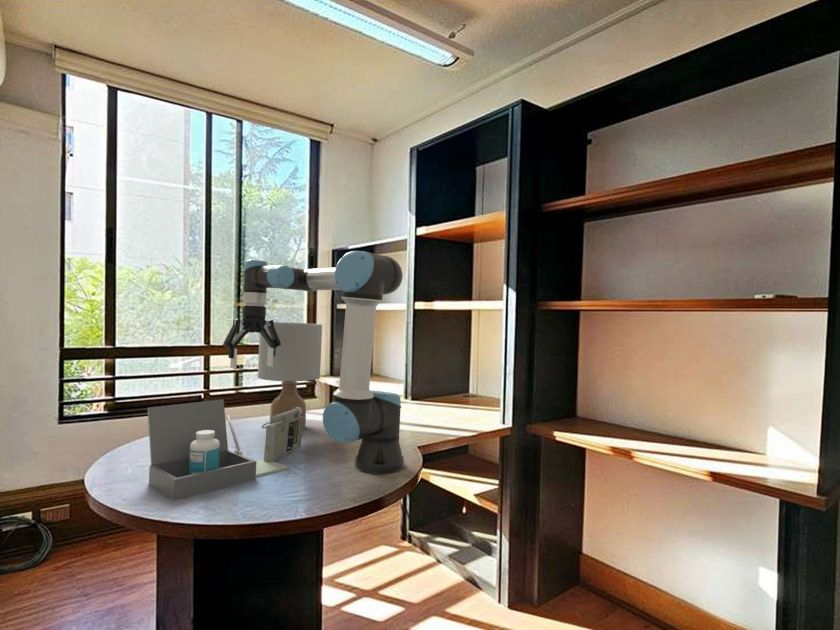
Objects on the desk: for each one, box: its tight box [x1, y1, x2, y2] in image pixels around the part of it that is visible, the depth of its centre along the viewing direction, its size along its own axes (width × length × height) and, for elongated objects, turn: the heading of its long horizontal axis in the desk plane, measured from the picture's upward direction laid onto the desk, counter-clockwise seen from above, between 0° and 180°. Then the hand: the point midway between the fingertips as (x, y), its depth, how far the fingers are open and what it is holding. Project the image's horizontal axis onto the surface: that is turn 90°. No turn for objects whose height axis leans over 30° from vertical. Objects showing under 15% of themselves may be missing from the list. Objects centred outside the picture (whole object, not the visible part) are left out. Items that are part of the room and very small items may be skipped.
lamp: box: [257, 321, 323, 430], centre depth 192 cm, size 24×24×42 cm
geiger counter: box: [261, 407, 304, 462], centre depth 159 cm, size 14×6×25 cm
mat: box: [255, 458, 289, 478], centre depth 142 cm, size 11×11×1 cm
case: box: [147, 398, 257, 501], centre depth 131 cm, size 19×23×20 cm
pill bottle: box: [189, 430, 220, 475], centre depth 129 cm, size 8×7×14 cm
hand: (252, 367), depth 164 cm, fingers open, 13 cm apart
